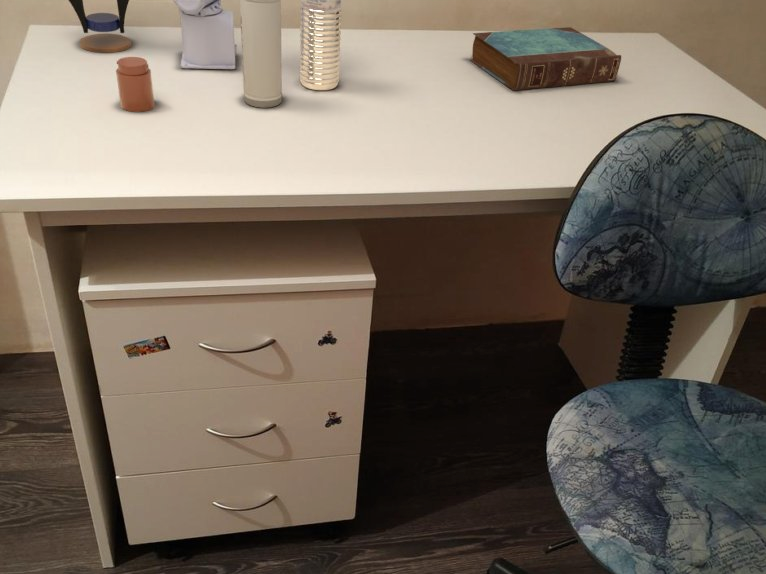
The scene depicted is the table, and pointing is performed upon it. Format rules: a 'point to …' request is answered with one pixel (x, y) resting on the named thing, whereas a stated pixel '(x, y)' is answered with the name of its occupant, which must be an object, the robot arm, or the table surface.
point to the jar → (135, 84)
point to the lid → (102, 22)
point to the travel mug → (261, 52)
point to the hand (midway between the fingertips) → (104, 31)
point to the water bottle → (320, 43)
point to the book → (544, 58)
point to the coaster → (105, 43)
